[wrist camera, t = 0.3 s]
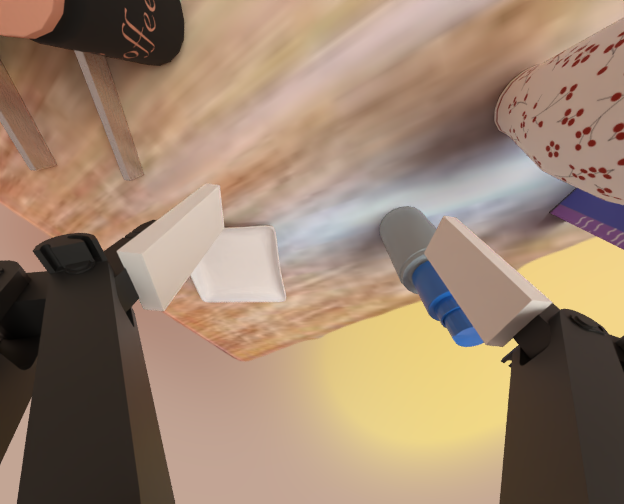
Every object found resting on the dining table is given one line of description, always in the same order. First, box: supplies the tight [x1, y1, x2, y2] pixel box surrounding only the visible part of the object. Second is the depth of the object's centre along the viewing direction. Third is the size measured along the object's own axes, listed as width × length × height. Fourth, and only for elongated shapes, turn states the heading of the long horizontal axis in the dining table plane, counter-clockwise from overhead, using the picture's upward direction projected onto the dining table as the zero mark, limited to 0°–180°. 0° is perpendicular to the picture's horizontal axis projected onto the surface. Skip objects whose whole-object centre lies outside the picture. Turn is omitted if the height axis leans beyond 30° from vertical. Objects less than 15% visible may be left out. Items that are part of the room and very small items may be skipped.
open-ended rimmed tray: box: [0, 50, 144, 181], centre depth 32 cm, size 20×16×4 cm
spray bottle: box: [379, 206, 484, 347], centre depth 34 cm, size 9×9×25 cm
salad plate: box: [190, 225, 286, 302], centre depth 49 cm, size 21×21×3 cm
